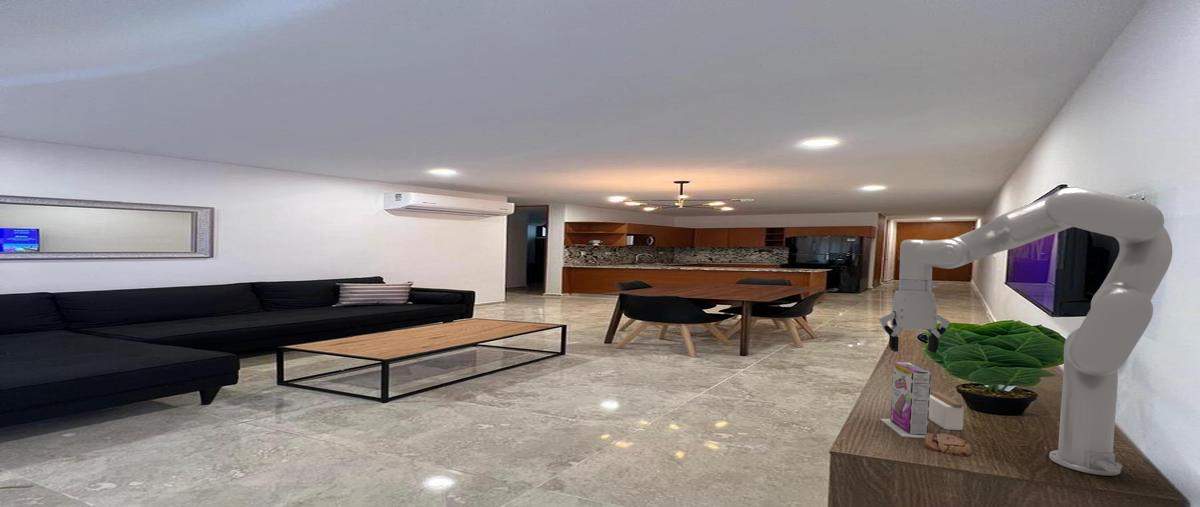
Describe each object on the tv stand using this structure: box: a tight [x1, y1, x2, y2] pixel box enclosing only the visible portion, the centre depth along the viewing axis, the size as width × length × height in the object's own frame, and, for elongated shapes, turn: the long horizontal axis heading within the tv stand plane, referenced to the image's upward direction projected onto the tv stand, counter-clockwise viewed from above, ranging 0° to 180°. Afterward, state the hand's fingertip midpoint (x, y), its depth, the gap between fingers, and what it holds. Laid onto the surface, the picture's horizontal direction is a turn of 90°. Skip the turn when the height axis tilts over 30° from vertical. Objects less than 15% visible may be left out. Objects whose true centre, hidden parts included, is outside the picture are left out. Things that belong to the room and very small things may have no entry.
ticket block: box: [928, 390, 965, 431], centre depth 162 cm, size 13×5×7 cm, turn 175°
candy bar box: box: [889, 361, 932, 435], centre depth 155 cm, size 11×5×16 cm, turn 178°
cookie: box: [923, 432, 973, 457], centre depth 142 cm, size 10×11×3 cm
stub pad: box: [879, 418, 925, 439], centre depth 155 cm, size 14×8×1 cm, turn 175°
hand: (913, 351), depth 154 cm, fingers open, 9 cm apart
